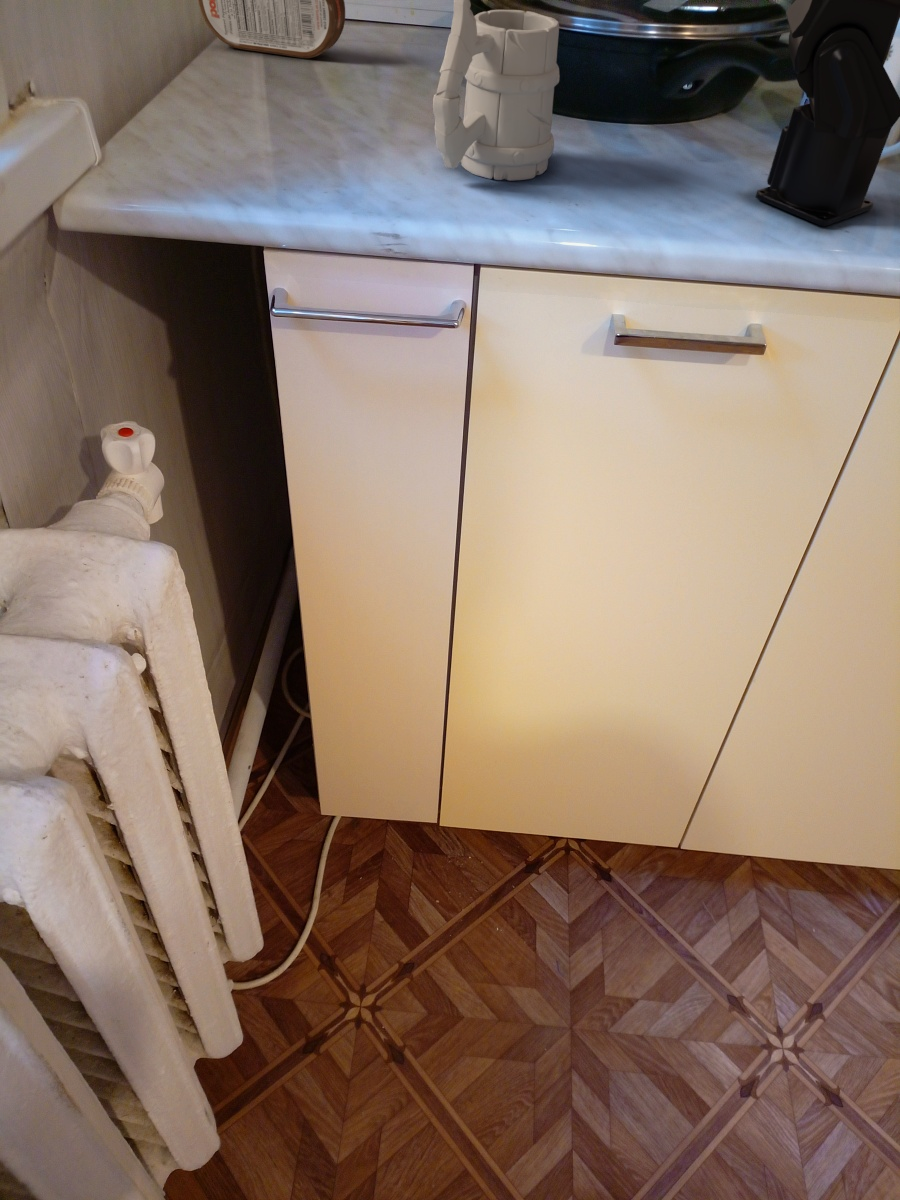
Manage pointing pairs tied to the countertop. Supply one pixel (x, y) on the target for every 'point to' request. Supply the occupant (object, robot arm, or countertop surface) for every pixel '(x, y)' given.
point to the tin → (276, 24)
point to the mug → (498, 93)
